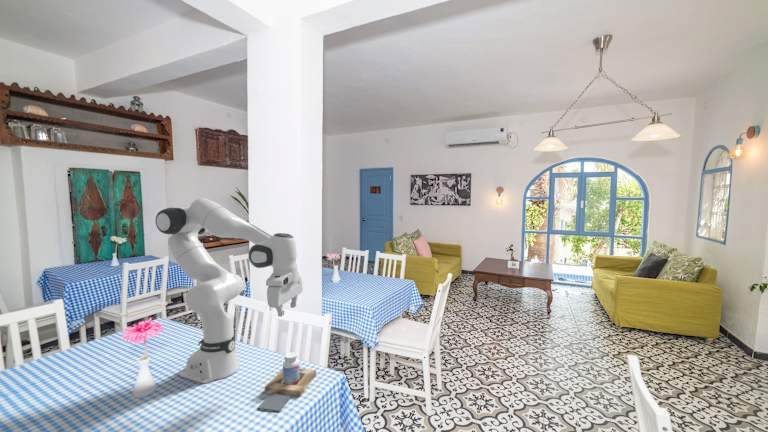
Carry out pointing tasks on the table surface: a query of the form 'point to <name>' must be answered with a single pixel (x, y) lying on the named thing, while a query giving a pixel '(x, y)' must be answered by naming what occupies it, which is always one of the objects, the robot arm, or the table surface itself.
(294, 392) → the holder
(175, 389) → the table surface
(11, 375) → the table surface
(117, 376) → the table surface
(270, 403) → the coaster
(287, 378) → the pill bottle
